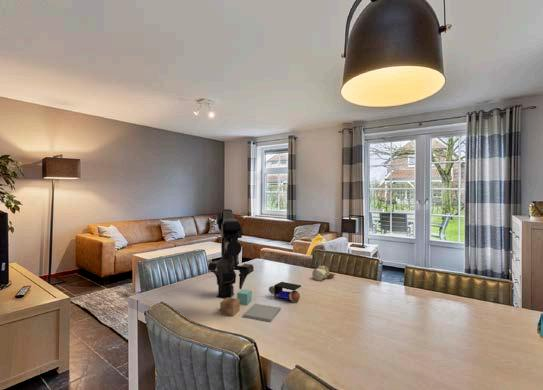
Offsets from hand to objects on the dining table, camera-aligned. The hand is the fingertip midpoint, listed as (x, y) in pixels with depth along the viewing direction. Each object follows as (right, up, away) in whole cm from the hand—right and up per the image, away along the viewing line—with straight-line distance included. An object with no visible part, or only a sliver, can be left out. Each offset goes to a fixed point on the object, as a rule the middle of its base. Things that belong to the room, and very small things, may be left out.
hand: (230, 287), depth 119 cm
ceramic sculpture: (+47, -11, +48) cm, 68 cm away
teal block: (+5, -10, +11) cm, 16 cm away
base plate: (+13, -11, -1) cm, 17 cm away
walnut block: (0, -11, 0) cm, 11 cm away
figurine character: (+24, -11, +16) cm, 30 cm away
